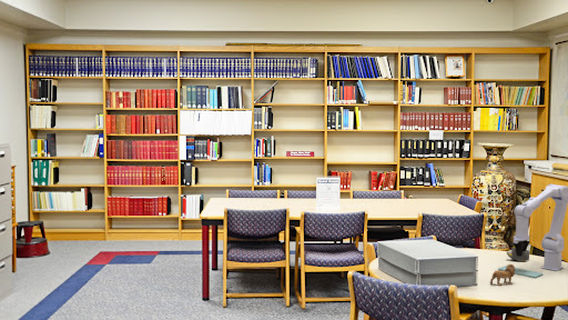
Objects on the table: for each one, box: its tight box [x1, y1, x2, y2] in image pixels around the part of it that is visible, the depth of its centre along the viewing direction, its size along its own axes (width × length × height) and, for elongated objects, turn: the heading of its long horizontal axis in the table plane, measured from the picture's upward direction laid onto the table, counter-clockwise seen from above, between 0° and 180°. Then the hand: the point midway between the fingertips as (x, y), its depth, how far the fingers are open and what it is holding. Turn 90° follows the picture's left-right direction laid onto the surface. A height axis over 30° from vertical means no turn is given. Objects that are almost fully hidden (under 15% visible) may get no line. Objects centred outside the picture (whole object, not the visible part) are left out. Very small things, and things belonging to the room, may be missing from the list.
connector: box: [508, 247, 530, 262], centre depth 277 cm, size 4×10×4 cm, turn 43°
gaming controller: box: [506, 246, 530, 263], centre depth 303 cm, size 15×6×10 cm
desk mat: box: [497, 265, 544, 279], centre depth 277 cm, size 9×19×1 cm, turn 43°
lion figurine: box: [489, 263, 516, 287], centre depth 257 cm, size 15×5×9 cm, turn 117°
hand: (520, 255), depth 276 cm, fingers closed on connector, 3 cm apart
